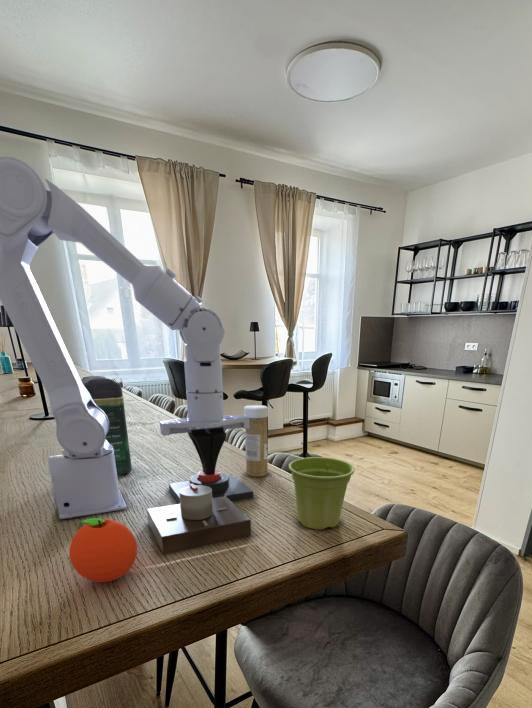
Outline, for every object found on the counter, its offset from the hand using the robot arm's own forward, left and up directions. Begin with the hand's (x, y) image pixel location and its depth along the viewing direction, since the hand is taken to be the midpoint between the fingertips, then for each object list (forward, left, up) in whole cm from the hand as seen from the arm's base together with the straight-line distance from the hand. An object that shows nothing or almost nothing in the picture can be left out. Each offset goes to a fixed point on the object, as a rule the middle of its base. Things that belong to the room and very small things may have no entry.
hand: (208, 472), depth 70 cm
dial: (-6, -13, -1) cm, 14 cm away
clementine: (-19, -20, -4) cm, 28 cm away
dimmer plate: (-6, -13, -4) cm, 15 cm away
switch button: (0, 0, -2) cm, 2 cm away
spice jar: (+12, +7, -4) cm, 14 cm away
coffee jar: (-14, +21, -4) cm, 26 cm away
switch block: (0, 0, -4) cm, 4 cm away
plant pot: (+11, -18, -4) cm, 21 cm away
